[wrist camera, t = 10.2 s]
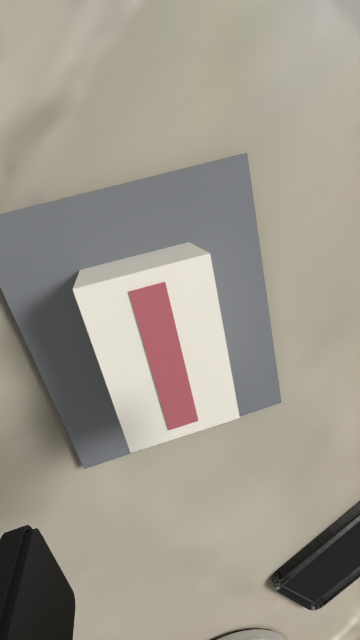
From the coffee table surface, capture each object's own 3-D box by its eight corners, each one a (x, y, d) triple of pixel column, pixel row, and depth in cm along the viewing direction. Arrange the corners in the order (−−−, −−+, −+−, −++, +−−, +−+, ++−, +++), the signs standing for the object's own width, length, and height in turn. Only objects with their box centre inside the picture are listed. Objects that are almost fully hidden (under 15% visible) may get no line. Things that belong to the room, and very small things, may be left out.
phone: (270, 587, 30) (400, 480, 28) (265, 574, 31) (390, 470, 29) (315, 613, 33) (435, 518, 31) (309, 600, 34) (424, 507, 32)
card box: (189, 241, 18) (210, 253, 14) (216, 380, 21) (240, 418, 18) (79, 269, 17) (72, 289, 14) (126, 407, 21) (130, 454, 17)
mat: (277, 398, 24) (281, 402, 23) (84, 463, 22) (84, 469, 22) (243, 154, 18) (247, 152, 17) (-27, 221, 16) (-31, 221, 16)
